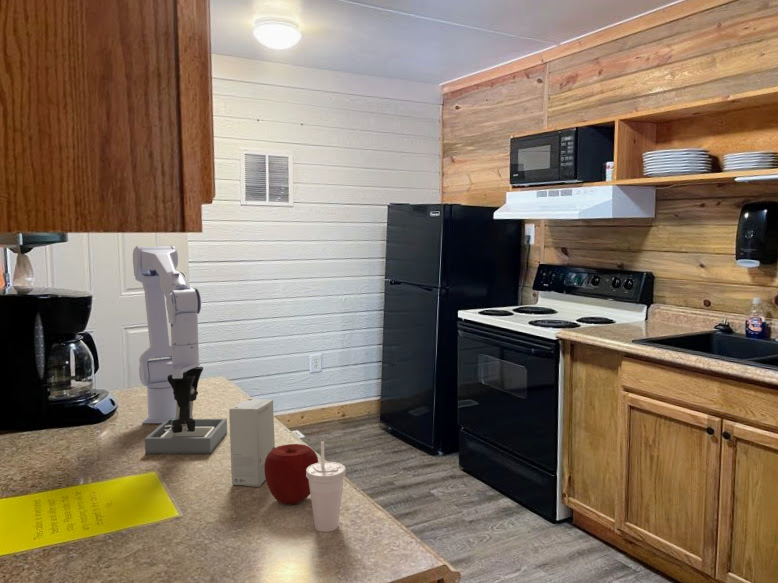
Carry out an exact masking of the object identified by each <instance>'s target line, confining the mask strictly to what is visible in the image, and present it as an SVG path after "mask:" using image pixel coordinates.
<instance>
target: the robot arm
mask: <svg viewBox="0 0 778 583" xmlns="http://www.w3.org/2000/svg"><path fill="white" fill-rule="evenodd" d="M178 264H179V255H178V250H177V248H176V247H175V246H174V245H169V246H168V245H165V246H164V245H160V246H158V245H157V246H153V245H152V246H140V245H136V246H135V247H134V248H133V250H132V266H133V275H134V279H135V281H137V282H139V283H142V284H141V285H142V288H143V290H144V300H145V302H144V303H145V310H146V321H147V330H148V338H149V340H148V342H149V347H148V348H147V349H146V350H145V351H143V353H142V354H141V355H140V356H139V365H138V366H139V367H138V370H139V371H138V372H139V373H138V374H139V379H140V383H141V384H142V385H143V386H144V387H146V394H147V395H146V398H147V399H146V400H147V417H146V418H145V419H144V420H142V424H162V423H163V422H165V421H166V420H167V419H174V417H175V415H176V402H177V404H178V407H188V406H189V402H190V394H191V387H194V390H196V391H198V385H199V380H200V377H201V376H202V373H203V371H204V367H203V366H201V362H200V355H199V350H200V349H199V323H198V321H199V320H198V315H199V314H200V313H201V309H202V299H201V298H202V297H201V294H200V291H199V289H198V288H197V287H191V285H190V283H189V282H188V281H187V279H186V277H185V275H184V274H183V273H182V272H180V271H179V270H177V267H178ZM167 316H168V317H167ZM168 323H169V324H170V336H169V328H168ZM169 337H170V338H169ZM170 342H171V343H170ZM173 391H174V393H175V397H176V400H175V399H174V394H173Z"/></svg>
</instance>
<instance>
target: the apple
mask: <svg viewBox="0 0 778 583" xmlns="http://www.w3.org/2000/svg"><path fill="white" fill-rule="evenodd" d="M319 462H320V461H319V457H318V455H317V454H316V452H315V450H314V449H313V448H312V447H310V446H309V445H306V444H301V443H292V444H291V443H289V444H282V445H279V446H275V448H274V449H273V450H272V451H270V452H269V453H268V455H267V457H266V459H265V466H264V467H265V478H266V480H265V482H266V484H267V487H268V490H269V492H270V494H271V496H272V497H273V498H274V500H276V501H277V502H278V503H280V504H281V505H290V506H291V505H296V504H299V503H302V501H305V500H306V499H307V498H308V497H309V496H311V494H310V488H309V480H308V478H307V477H306V469H307V468H308V467H309V466H310V465H312V464H315V463H319Z"/></svg>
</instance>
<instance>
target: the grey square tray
mask: <svg viewBox="0 0 778 583" xmlns="http://www.w3.org/2000/svg"><path fill="white" fill-rule="evenodd" d="M193 419H194V420H195V427H215V429H214V430H213V431H212V433H211V434H210V435H209V436H208V437H204V436H173V437H161V436H162V435H163V434H164V433H165V432H166V431H165V430H166V429H170V428H171V427H165V426H167V425H171V424H172V419H167V420H166V421H165V422H163V423H160V425H159V426H158V427H156V428H155V429H154V430H153V431H152V432H150V433H149V434H148V435H147V436H145V438H144V451H145V452H144V454H145V455H211V454H212V453H213V452H214V451H215V449H216V448H217V447H218V446H219V444H220V443H221V442H220V441H223V439H224V438H225V437H226V435H227V434H228V418H193ZM224 436H225V437H224ZM216 446H217V447H216ZM213 450H214V451H213Z"/></svg>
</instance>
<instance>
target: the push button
mask: <svg viewBox="0 0 778 583" xmlns="http://www.w3.org/2000/svg"><path fill="white" fill-rule="evenodd" d="M173 394H174V399H175V400H176V397H175V393H174V391H173ZM198 394H199V392H198V390H197V391H196V390H194V387H191V394H190V402H189V406H188V407H178V404H177V402H176V415H175V417H174V419H172V424H171V425H167V426H165V427H171V429H166V430H165V431H173V433H180V432H183V433H184V432H190V431H191V432H194V431H195V420H194V419H195V418H194V415H193V408H194V401H196V400H197V396H198Z"/></svg>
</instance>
